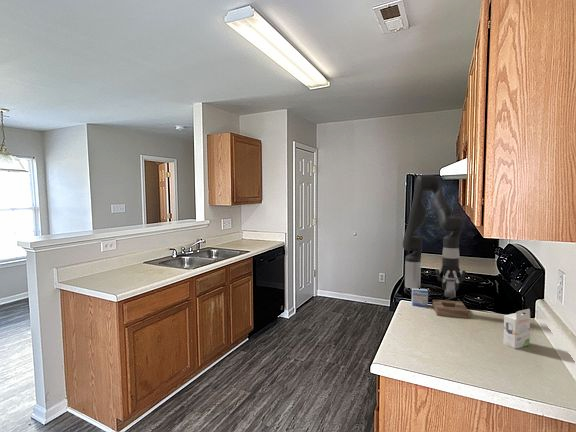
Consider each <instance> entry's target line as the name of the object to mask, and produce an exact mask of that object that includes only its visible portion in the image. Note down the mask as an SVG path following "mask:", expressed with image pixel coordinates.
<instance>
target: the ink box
mask: <svg viewBox="0 0 576 432" xmlns="http://www.w3.org/2000/svg"><path fill="white" fill-rule="evenodd" d="M530 336H531V309H530V308H527V309H522V310H518V311H516V312H515V313H509V314H505V315H503V345H505V346H508V347H510V348H512V349H514V350H516V349H520V348H523V347H524V348H525V347H526V346H527V345H528V346H530V343H531V342H530V340H531V339H530V338H531V337H530Z"/></svg>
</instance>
